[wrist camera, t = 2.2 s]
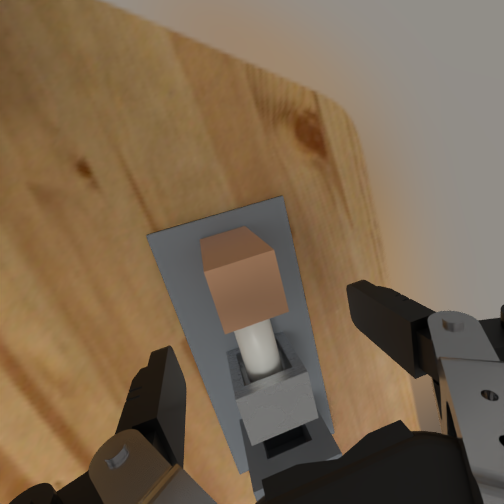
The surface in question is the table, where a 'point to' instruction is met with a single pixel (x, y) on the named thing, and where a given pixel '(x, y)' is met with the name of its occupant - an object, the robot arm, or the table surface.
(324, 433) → the socket block
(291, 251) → the slate mat
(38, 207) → the table surface
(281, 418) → the sleeve
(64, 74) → the table surface
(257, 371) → the tan block with rod
